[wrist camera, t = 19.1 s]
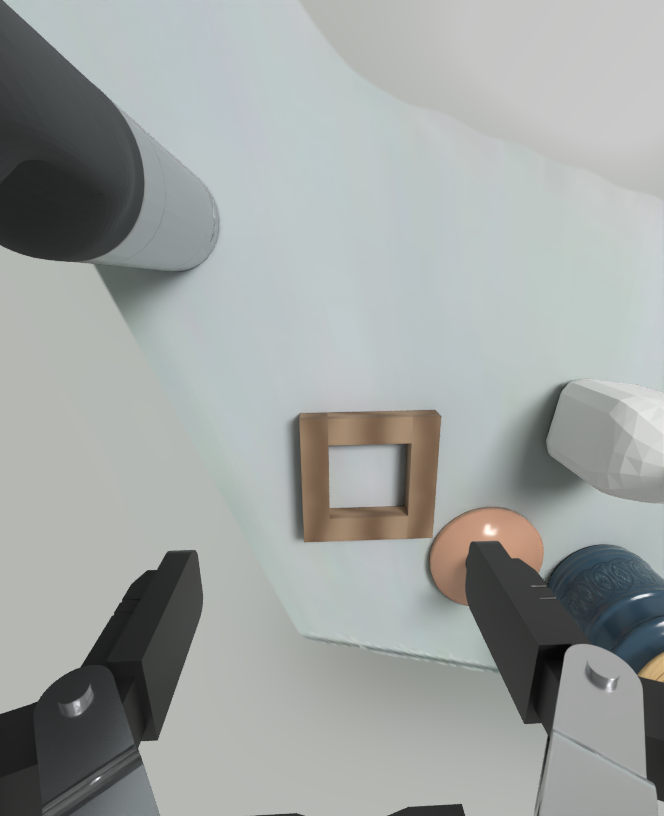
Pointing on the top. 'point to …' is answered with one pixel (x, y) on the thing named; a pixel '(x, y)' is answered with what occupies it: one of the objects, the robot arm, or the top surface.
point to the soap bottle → (611, 437)
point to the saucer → (480, 527)
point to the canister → (615, 604)
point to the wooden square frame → (362, 430)
